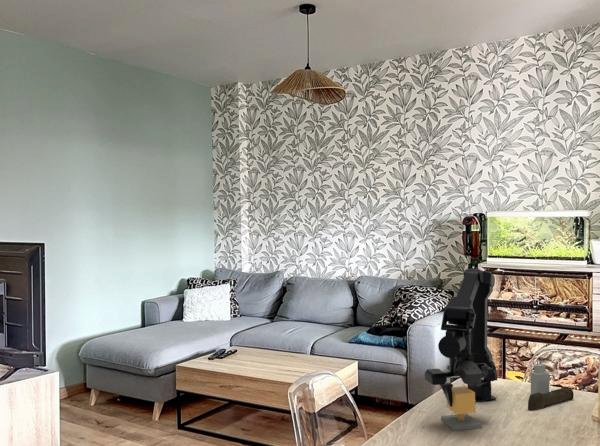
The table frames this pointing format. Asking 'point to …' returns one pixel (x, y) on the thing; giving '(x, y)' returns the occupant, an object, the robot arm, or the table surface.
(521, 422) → the table surface
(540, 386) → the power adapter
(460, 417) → the grey base with peg
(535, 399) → the hand tool
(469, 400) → the orange foam cube
